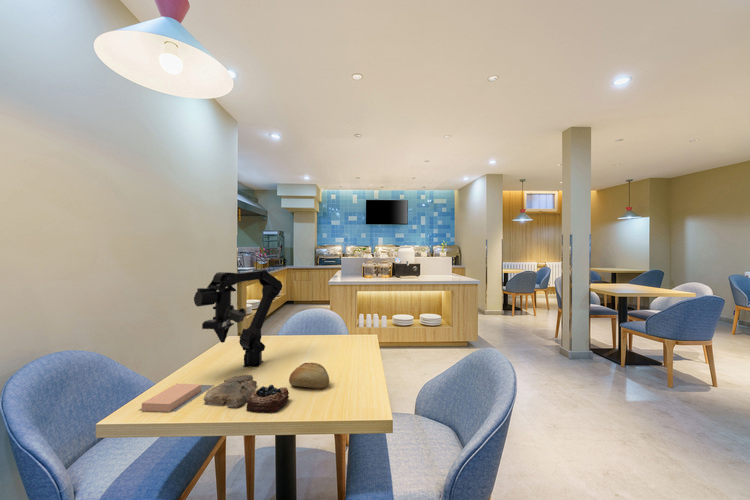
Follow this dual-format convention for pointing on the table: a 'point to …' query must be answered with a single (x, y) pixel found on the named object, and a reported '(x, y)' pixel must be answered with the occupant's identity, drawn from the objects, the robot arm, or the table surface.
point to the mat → (203, 389)
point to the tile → (171, 397)
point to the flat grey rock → (231, 392)
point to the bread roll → (310, 376)
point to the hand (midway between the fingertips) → (222, 342)
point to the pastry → (267, 399)
